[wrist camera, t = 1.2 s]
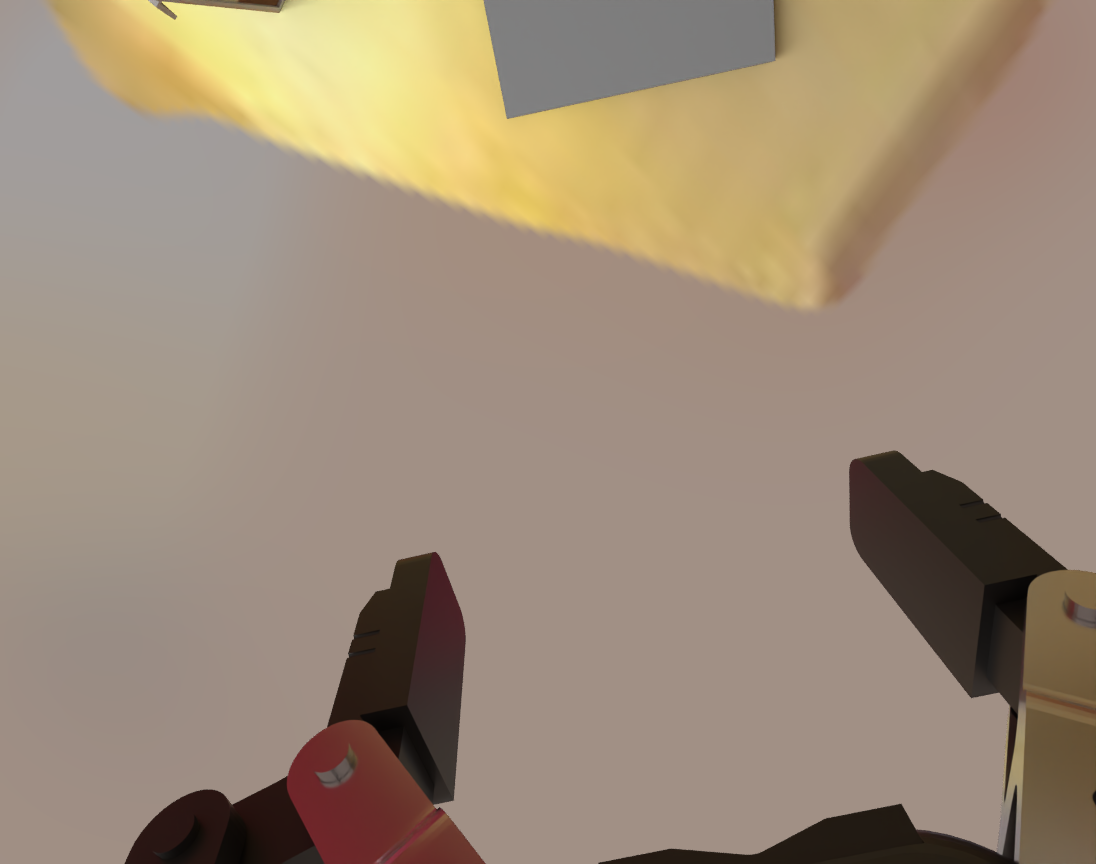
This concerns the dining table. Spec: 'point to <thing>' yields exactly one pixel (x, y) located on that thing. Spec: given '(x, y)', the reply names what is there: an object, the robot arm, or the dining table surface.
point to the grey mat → (619, 46)
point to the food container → (225, 4)
